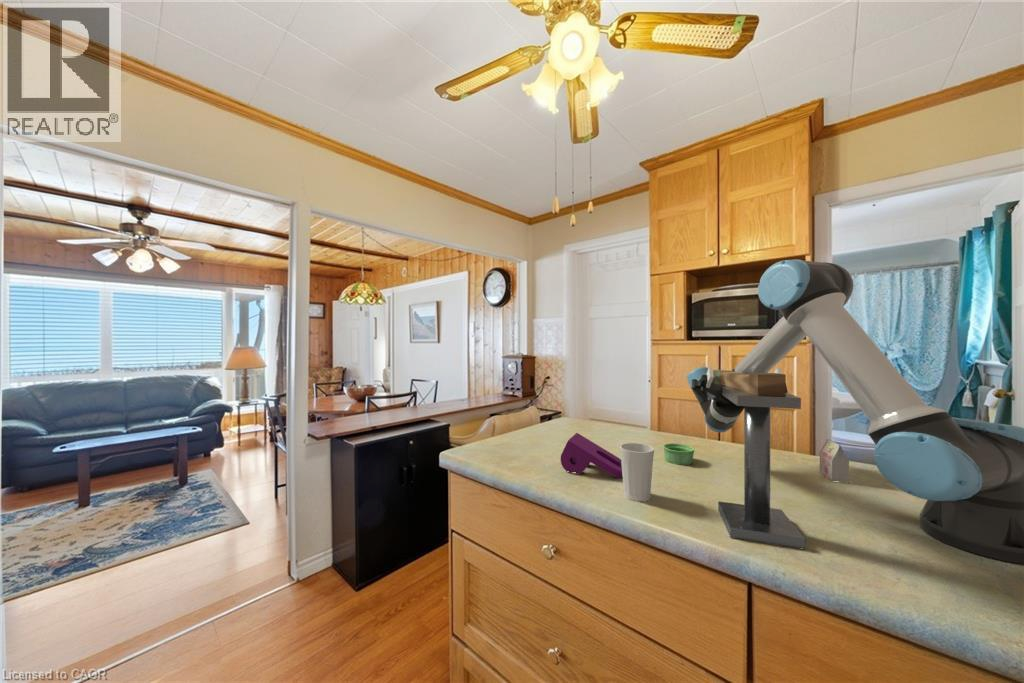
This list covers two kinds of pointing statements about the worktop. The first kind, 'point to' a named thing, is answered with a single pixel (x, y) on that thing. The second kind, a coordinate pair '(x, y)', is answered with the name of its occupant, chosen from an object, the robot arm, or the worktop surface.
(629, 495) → the cup
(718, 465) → the worktop surface
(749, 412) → the charcoal stand
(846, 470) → the milk carton
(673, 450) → the ramekin
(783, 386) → the walnut bar
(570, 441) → the mounting bracket
